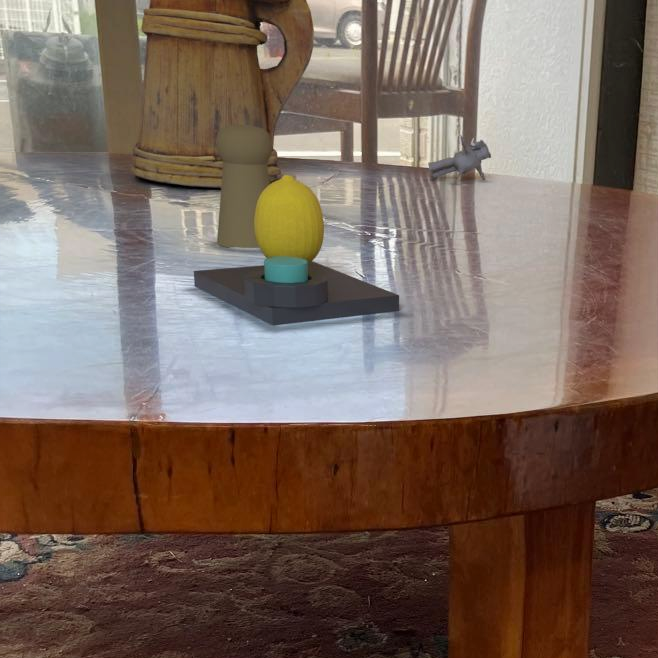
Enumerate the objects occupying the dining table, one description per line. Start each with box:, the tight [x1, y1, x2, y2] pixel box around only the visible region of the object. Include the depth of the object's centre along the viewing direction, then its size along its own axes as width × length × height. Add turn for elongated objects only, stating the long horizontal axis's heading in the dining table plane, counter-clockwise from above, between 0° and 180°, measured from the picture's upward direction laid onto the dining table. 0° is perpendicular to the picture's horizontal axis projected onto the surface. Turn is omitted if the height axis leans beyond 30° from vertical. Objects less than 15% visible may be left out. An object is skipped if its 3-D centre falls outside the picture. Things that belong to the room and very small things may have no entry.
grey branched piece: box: [427, 134, 492, 183], centre depth 161 cm, size 10×6×9 cm
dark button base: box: [193, 260, 400, 327], centre depth 89 cm, size 12×14×3 cm
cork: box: [216, 125, 272, 249], centre depth 108 cm, size 6×6×11 cm
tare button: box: [263, 257, 308, 283], centre depth 84 cm, size 3×3×2 cm
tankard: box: [130, 0, 315, 189], centre depth 142 cm, size 18×24×25 cm
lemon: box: [254, 174, 325, 264], centre depth 90 cm, size 6×6×8 cm
